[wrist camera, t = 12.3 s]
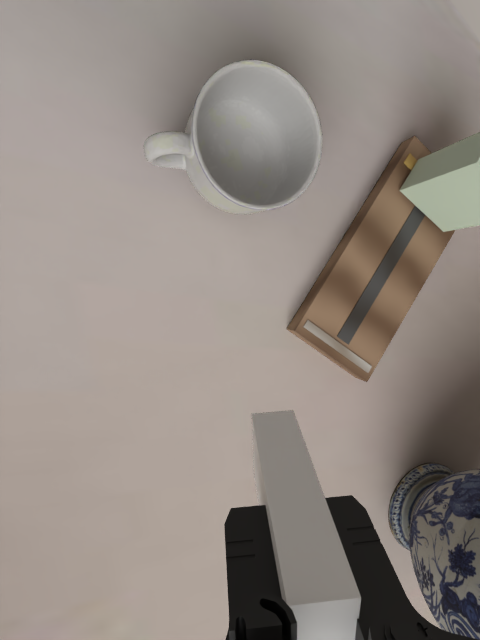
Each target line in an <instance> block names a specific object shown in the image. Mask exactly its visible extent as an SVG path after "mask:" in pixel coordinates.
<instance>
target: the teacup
mask: <svg viewBox="0 0 480 640" xmlns="http://www.w3.org/2000/svg"><path fill="white" fill-rule="evenodd" d="M322 135H323V134H322V131H321V124H320V120H319V116H318V113H317V111H316V108H315V105H314V103H313V101H312V99H311V98H310V96H309V94H308V93H307V91H306V90H305V89H304V88H303V86H302V85H301V84H300V83H299V82H298V81H297V80H296V79H295V78H294V77H293V76H292V75H290V74H289V73H288V72H287V71H285V70H283V69H282V68H280V67H278V66H276V65H274V64H272V63H268V62H265V61H259V60H252V59H250V60H243V61H238V62H235V63H231V64H229V65H226V66H224V67H222V68H221V69H219V70H218V71H216V72H215V73H214V74H213V75H212V76H211V77H210V78H209V79H208V80H207V82H206V83H205V84H204V86H203V87H202V89H201V91H200V92H199V94H198V96H197V99H196V102H195V106H194V108H193V111H192V113H191V115H190V117H189V119H188V122H187V125H186V128H185V132H178V131H166V132H160V133H156V134H153V135H151V136H150V137H148V138H147V139H146V140H145V142H144V153H145V157H146V159H147V161H148V162H149V163H150V164H152V165H154V166H159V167H166V168H178V169H181V170H186V171H187V174H188V176H189V179H190V181H191V183H192V184H193V186H194V188H195V189H196V191H197V192H198V193H199V194H200V195H201V196H202V197H203V198H204V199H205V200H206V201H207V202H208V203H210V204H211V205H213V206H214V207H216V208H218V209H220V210H222V211H225V212H228V213H232V214H241V215H246V214H254V213H259V212H263V211H266V210H271V209H277V208H280V207H282V206H285V205H287V204H289V203H291V202H292V201H294V200H295V199H297V198H298V197H299V196H300V195H301V194H302V193H303V192H304V191H305V190H306V189H307V188H308V186H309V185H310V184H311V182H312V180H313V179H314V177H315V174H316V172H317V169H318V166H319V162H320V158H321V153H322Z"/></svg>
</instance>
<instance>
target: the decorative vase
mask: <svg viewBox="0 0 480 640" xmlns="http://www.w3.org/2000/svg"><path fill="white" fill-rule="evenodd" d="M389 524H390V528H391V531H392V534H393V535H394V537H395V539H396V540H397V542H398V543H399V544H400V545H402V546H403V547H404V548H406V549H408V550H410V553H411V559H412V563H413V568H414V571H415V575H416V578H417V581H418V583H419V586H420V589H421V592H422V594H423V596H424V599H425V601H426V603H427V605H428V607H429V609H430V611H431V613H432V614H433V616H434V618H435V620H436V622H437V623H438V625H439V627H440V628H441V629H442V630H445V631H447V632H450V633H454V634H458V635H462V636H466V637H470V638H475V639H479V640H480V469H476V470H468V471H462V472H458V473H454V472H453V471H451V470H450V469H449V468H447V467H445V466H443V465H440V464H436V463H427V464H423V465H420V466H418V467H416V468H415V469H413V470H411V471H410V472H409V473H408V474H407V475H406V476H405V477H404V478H403V479H402V480H401V481H400V483H399V484H398V486H397V488H396V489H395V491H394V493H393V496H392V498H391V502H390V507H389Z"/></svg>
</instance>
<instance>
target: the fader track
mask: <svg viewBox="0 0 480 640" xmlns="http://www.w3.org/2000/svg"><path fill="white" fill-rule="evenodd" d="M429 154H432V153H431V152H430V151H429V150H428V149H427V148H426V147H425V146H424V145H423V144H422V143H421V142H420V141H419V140H418V139H417V138H416V137H415V136H414V137H412V138H410V139H408V140H406V141H404V142H402V143H401V144H400V146H399V148H398V149H397V151H396V152H395V154H394V156H393V157H392V159H391V161H390V162H389V164H388V165H387V167H386V169H385V170H384V172H383V174H382V175H381V177H380V178H379V180H378V182H377V183H376V185H375V186H374V188H373V190H372V191H371V193H370V195H369V196H368V198H367V199H366V201H365V203H364V204H363V206H362V208H361V209H360V211H359V212H358V214H357V216H356V217H355V219H354V221H353V222H352V224H351V225H350V227H349V229H348V230H347V232H346V233H345V235H344V237H343V238H342V240H341V242H340V243H339V245H338V246H337V248H336V250H335V251H334V253H333V255H332V256H331V258H330V259H329V261H328V263H327V264H326V266H325V268H324V269H323V271H322V272H321V274H320V276H319V277H318V279H317V280H316V282H315V284H314V285H313V287H312V289H311V290H310V292H309V293H308V295H307V297H306V298H305V300H304V302H303V303H302V305H301V306H300V308H299V310H298V311H297V313H296V315H295V316H294V318H293V319H292V321H291V323H290V324H289V326H288V327H287V330H289V331H290V332H291V333H293V334H294V335H296V336H297V337H299V338H300V339H301V340H303V341H304V342H306V343H307V344H309V345H310V346H311V347H313V348H314V349H316V350H317V351H318V352H320V353H321V354H323V355H324V356H326V357H327V358H328V359H330V360H331V361H333V362H334V363H336V364H337V365H338V366H340V367H341V368H343V369H344V370H346V371H347V372H348V373H350V374H351V375H353V376H354V377H355V378H358V379H361V380H363V381H366V382H367V381H368V379H369V378H370V376H371V374H372V373H373V371H374V369H375V367H376V366H377V364H378V362H379V360H380V359H381V357H382V355H383V354H384V352H385V350H386V348H387V347H388V345H389V343H390V341H391V340H392V338H393V336H394V335H395V333H396V331H397V329H398V328H399V326H400V324H401V323H402V321H403V319H404V317H405V316H406V314H407V312H408V310H409V309H410V307H411V305H412V304H413V302H414V300H415V298H416V297H417V295H418V293H419V292H420V290H421V288H422V286H423V285H424V283H425V281H426V279H427V278H428V276H429V274H430V273H431V271H432V269H433V267H434V266H435V264H436V262H437V261H438V259H439V257H440V255H441V254H442V252H443V250H444V248H445V247H446V245H447V243H448V242H449V240H450V238H451V236H452V235H453V233H454V231H455V230H452V231H446V232H443V231H442V230H441V229H440V228H439V227H438V226H437V225H436V224H435V223H433V222H432V221H431V220H430V219H429V218H428V217H427V216H426V215H425V214H424V213H423V212H422V211H421V210H420V209H419V208H417V207H416V206H415V205H414V204H413V203H412V202H411V201H410V200H409V199H408V198H407V197H406V196H405V195H404V194H403V193H401V192H400V191H399V190H400V189H401V187H402V185H403V184H404V182H405V181H406V179H407V177H408V176H409V174H410V172H411V171H412V169H413V167H414V166H415V164H416V162H417V161H418V159H420V158H423V157H425V156H427V155H429Z"/></svg>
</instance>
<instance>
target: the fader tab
mask: <svg viewBox="0 0 480 640" xmlns="http://www.w3.org/2000/svg"><path fill="white" fill-rule="evenodd" d="M399 191H400V192H401V193H403V194H404V195H405V196H406V197H407V198H408V199H409V200H410V201H411V202H412V203H413V204H414V205H415V206H416V207H417V208H419V209H420V210H421V211H422V212H423V213H424V214H425V215H426V216H427V217H428V218H429V219H430V220H431V221H432V222H433V223H435V224H436V225H437V226H438V227H439V228H440V229H441V230H442V231H443V232H446V231H452V230H457V229H462V228H468V227H473V226H479V225H480V132H479V133H477V134H474V135H472V136H470V137H468V138H465V139H463V140H461V141H459V142H456V143H454V144H452V145H450V146H447V147H445V148H443V149H441V150H438V151H436V152H434V153H432V154H429V155H427V156H425V157H423V158H420V159H418V161H417V162H416V164H415V166H414V167H413V169H412V171H411V172H410V174H409V176H408V177H407V179H406V181H405V182H404V184H403V185H402V187H401V189H400V190H399Z"/></svg>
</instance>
